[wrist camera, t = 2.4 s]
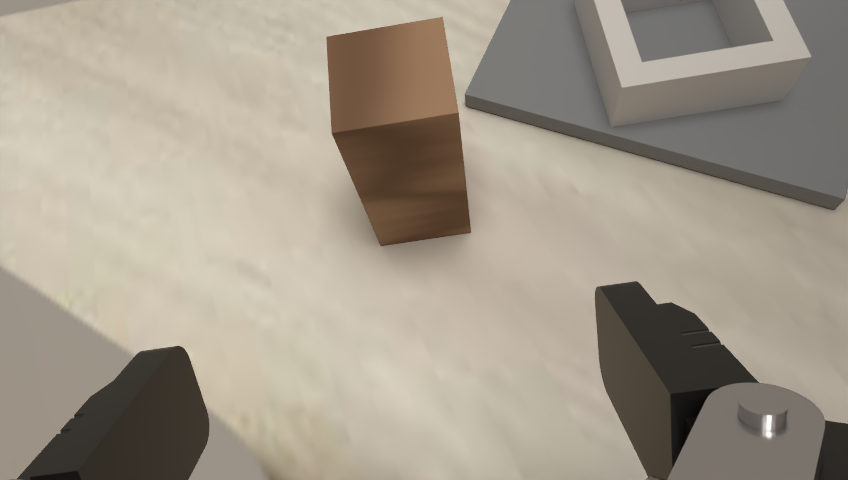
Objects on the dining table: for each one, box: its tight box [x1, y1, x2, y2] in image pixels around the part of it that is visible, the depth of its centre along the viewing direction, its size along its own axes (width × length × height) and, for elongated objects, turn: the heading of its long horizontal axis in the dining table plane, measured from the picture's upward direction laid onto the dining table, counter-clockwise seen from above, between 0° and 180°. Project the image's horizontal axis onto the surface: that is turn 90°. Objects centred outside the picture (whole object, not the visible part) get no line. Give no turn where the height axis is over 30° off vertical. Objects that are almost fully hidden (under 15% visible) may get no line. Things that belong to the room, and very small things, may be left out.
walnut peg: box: [327, 17, 471, 246], centre depth 26 cm, size 4×4×10 cm
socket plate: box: [465, 0, 848, 210], centre depth 30 cm, size 18×12×4 cm, turn 66°
